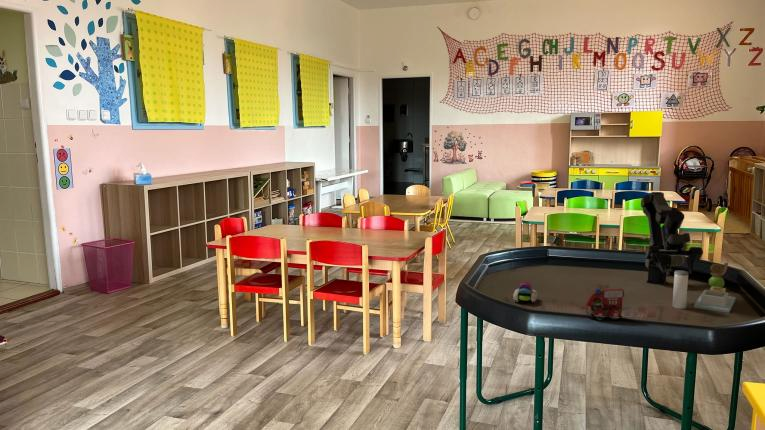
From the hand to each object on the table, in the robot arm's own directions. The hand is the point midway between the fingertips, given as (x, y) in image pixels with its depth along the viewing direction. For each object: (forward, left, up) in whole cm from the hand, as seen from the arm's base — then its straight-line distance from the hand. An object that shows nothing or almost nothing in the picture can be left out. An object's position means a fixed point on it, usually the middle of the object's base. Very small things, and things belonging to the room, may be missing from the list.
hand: (677, 272), depth 219 cm
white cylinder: (+2, -4, -11) cm, 12 cm away
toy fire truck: (-17, -30, -12) cm, 37 cm away
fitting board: (+12, +7, -11) cm, 18 cm away
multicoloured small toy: (-47, -28, -12) cm, 56 cm away
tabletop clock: (-12, +45, -12) cm, 48 cm away
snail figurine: (+10, +28, -12) cm, 32 cm away
